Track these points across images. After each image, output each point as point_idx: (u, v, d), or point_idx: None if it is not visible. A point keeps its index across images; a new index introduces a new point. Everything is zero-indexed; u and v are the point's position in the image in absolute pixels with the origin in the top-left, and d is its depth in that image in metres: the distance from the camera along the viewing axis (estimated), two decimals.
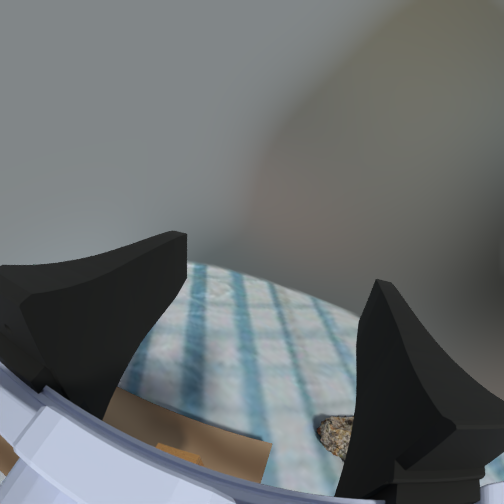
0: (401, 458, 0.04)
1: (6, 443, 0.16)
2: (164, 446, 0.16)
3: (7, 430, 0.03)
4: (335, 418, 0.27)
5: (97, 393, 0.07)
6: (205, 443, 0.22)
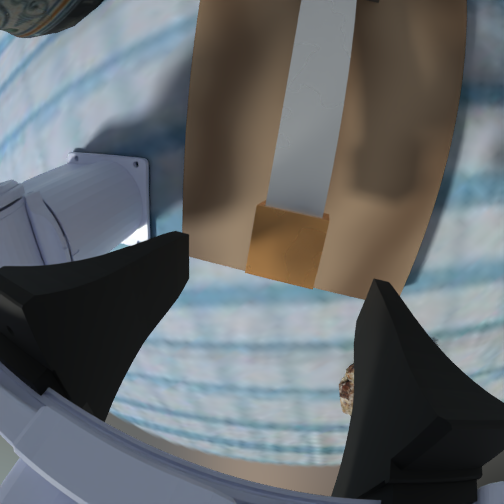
0: (397, 458, 0.04)
1: None
2: (322, 233, 0.12)
3: (7, 430, 0.03)
4: None
5: (99, 394, 0.07)
6: (394, 227, 0.17)
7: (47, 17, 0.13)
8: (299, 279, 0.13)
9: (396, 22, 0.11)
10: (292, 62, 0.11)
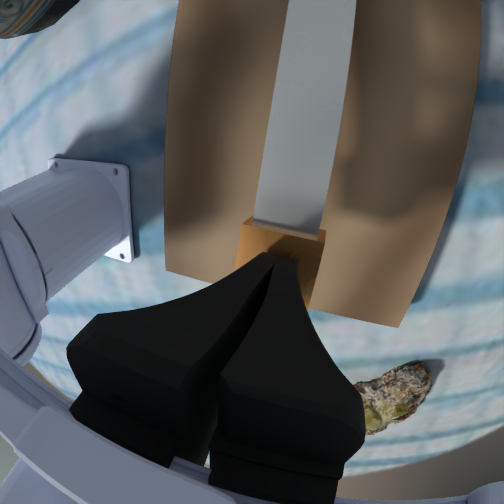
0: (220, 424, 0.05)
1: None
2: (317, 257, 0.10)
3: (7, 430, 0.03)
4: (425, 388, 0.20)
5: (207, 442, 0.07)
6: (400, 243, 0.15)
7: (23, 16, 0.11)
8: None
9: (403, 9, 0.09)
10: (281, 55, 0.09)
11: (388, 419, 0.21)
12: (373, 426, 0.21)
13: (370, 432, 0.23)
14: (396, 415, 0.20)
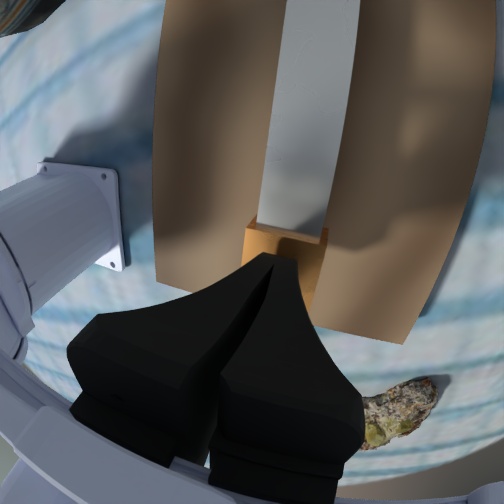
0: (219, 424, 0.05)
1: None
2: (319, 259, 0.11)
3: (7, 430, 0.03)
4: (431, 405, 0.18)
5: (207, 442, 0.07)
6: (407, 257, 0.14)
7: (9, 15, 0.10)
8: None
9: None
10: (281, 56, 0.08)
11: (392, 435, 0.20)
12: (377, 442, 0.20)
13: (373, 447, 0.21)
14: (400, 431, 0.19)
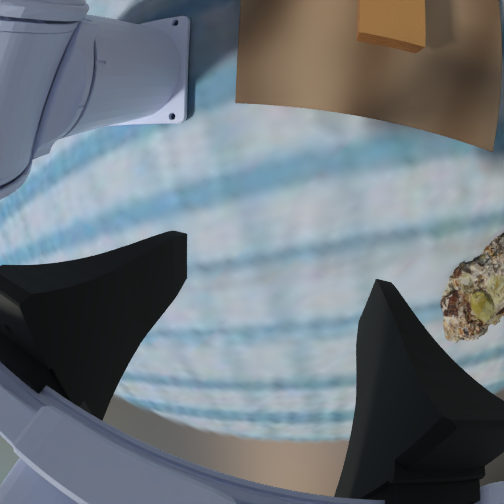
0: (401, 458, 0.04)
1: None
2: (421, 1, 0.08)
3: (7, 430, 0.03)
4: None
5: (97, 393, 0.07)
6: (474, 55, 0.11)
7: None
8: (411, 37, 0.09)
9: None
10: None
11: (499, 303, 0.16)
12: (487, 313, 0.17)
13: (479, 330, 0.18)
14: None
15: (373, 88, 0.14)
